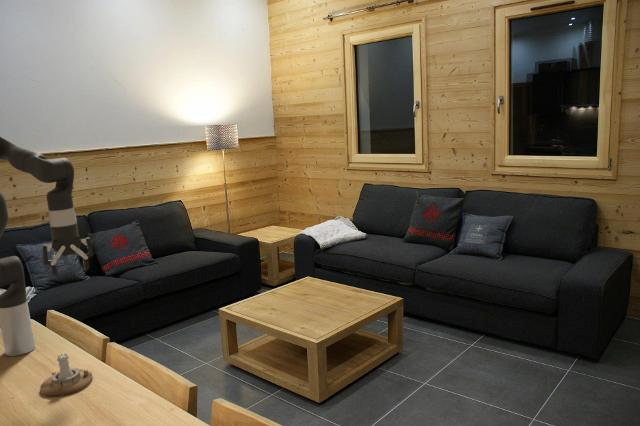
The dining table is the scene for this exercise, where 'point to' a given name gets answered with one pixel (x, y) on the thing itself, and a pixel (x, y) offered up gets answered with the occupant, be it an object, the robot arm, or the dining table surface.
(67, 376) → the rook chess piece
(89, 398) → the dining table surface
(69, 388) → the carrier disc
